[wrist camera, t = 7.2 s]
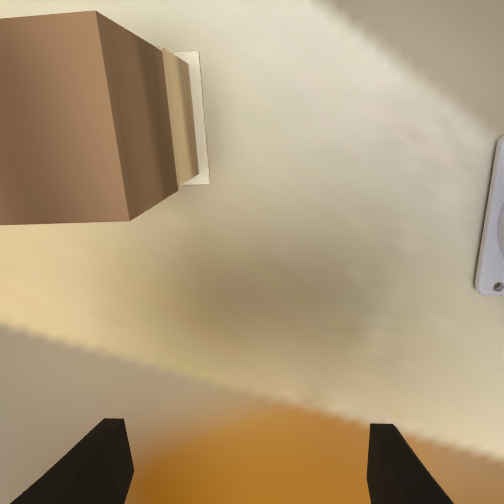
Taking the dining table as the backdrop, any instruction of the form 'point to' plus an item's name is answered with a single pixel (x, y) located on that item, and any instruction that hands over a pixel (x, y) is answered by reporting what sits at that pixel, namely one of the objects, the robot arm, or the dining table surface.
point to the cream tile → (197, 116)
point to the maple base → (181, 116)
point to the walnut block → (81, 121)
